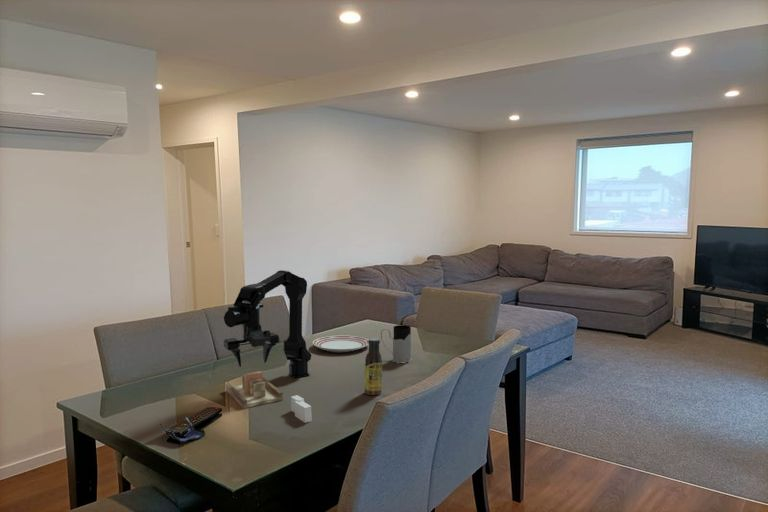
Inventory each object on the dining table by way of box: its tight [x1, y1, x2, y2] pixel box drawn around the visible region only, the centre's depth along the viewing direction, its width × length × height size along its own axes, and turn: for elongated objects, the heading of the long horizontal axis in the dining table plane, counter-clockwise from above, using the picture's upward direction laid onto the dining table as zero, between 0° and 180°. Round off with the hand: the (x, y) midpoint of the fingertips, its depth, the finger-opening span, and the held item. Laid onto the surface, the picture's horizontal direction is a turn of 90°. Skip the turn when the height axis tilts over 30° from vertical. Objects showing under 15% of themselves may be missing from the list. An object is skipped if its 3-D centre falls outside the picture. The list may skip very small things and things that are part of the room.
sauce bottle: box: [363, 337, 383, 396], centre depth 191 cm, size 7×6×20 cm
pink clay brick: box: [243, 370, 264, 395], centre depth 189 cm, size 6×2×7 cm, turn 123°
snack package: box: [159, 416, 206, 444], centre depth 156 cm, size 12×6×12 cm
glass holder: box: [380, 324, 413, 362], centre depth 231 cm, size 9×14×15 cm, turn 71°
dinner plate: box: [312, 334, 369, 353], centre depth 253 cm, size 28×27×3 cm
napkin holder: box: [290, 394, 313, 424], centre depth 172 cm, size 15×11×6 cm
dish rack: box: [225, 374, 284, 409], centre depth 189 cm, size 14×20×6 cm
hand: (252, 364), depth 189 cm, fingers open, 9 cm apart
